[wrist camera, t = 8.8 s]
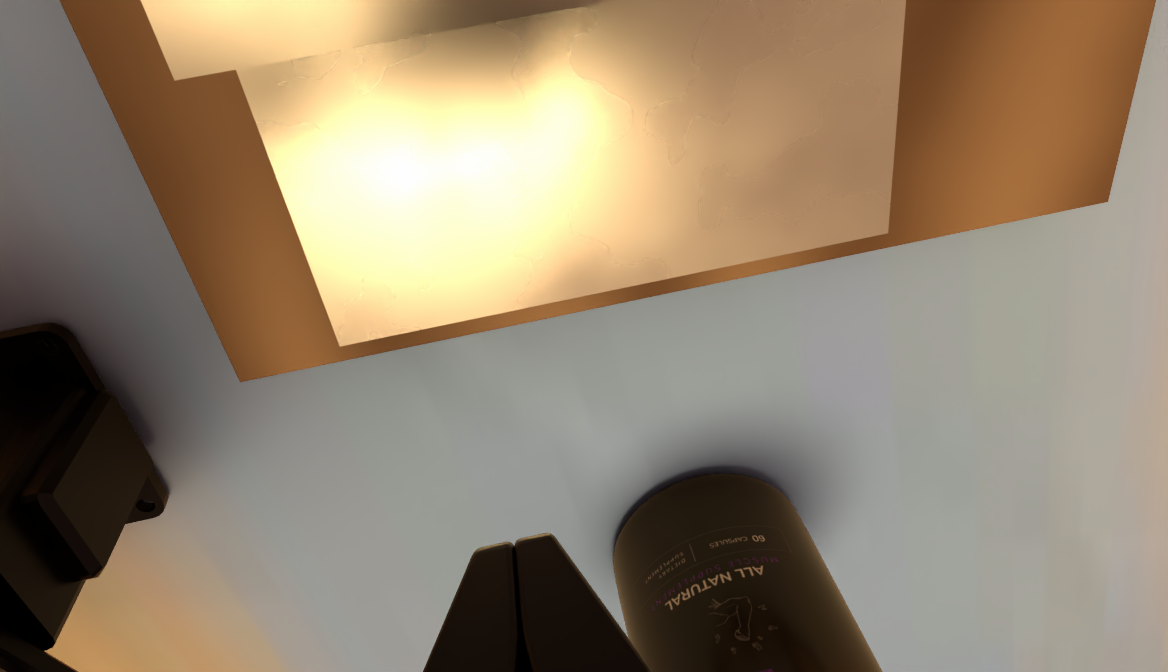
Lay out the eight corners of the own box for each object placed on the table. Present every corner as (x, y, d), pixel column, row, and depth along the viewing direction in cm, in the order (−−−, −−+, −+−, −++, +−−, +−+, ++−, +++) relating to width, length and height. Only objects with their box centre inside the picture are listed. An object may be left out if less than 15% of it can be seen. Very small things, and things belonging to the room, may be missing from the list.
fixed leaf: (343, 326, 20) (322, 433, 16) (159, -180, 14) (58, -196, 10) (869, 218, 21) (965, 296, 17) (901, -301, 15) (1058, -356, 11)
